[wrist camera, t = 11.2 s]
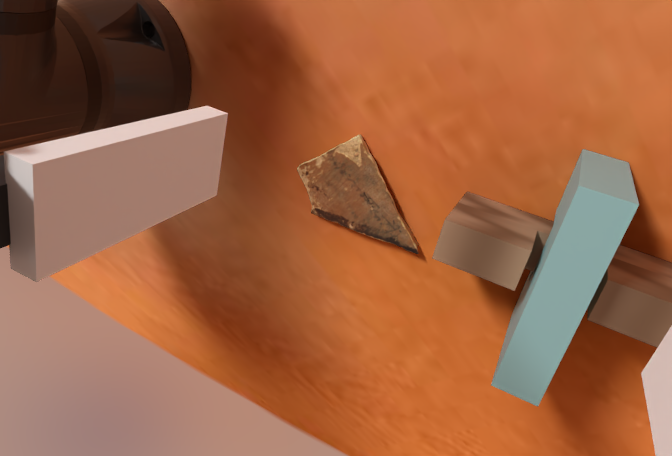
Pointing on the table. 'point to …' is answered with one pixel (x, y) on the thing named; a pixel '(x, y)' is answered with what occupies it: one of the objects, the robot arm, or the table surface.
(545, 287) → the teal board
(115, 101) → the robot arm
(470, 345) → the table surface
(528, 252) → the walnut board
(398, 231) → the shard
